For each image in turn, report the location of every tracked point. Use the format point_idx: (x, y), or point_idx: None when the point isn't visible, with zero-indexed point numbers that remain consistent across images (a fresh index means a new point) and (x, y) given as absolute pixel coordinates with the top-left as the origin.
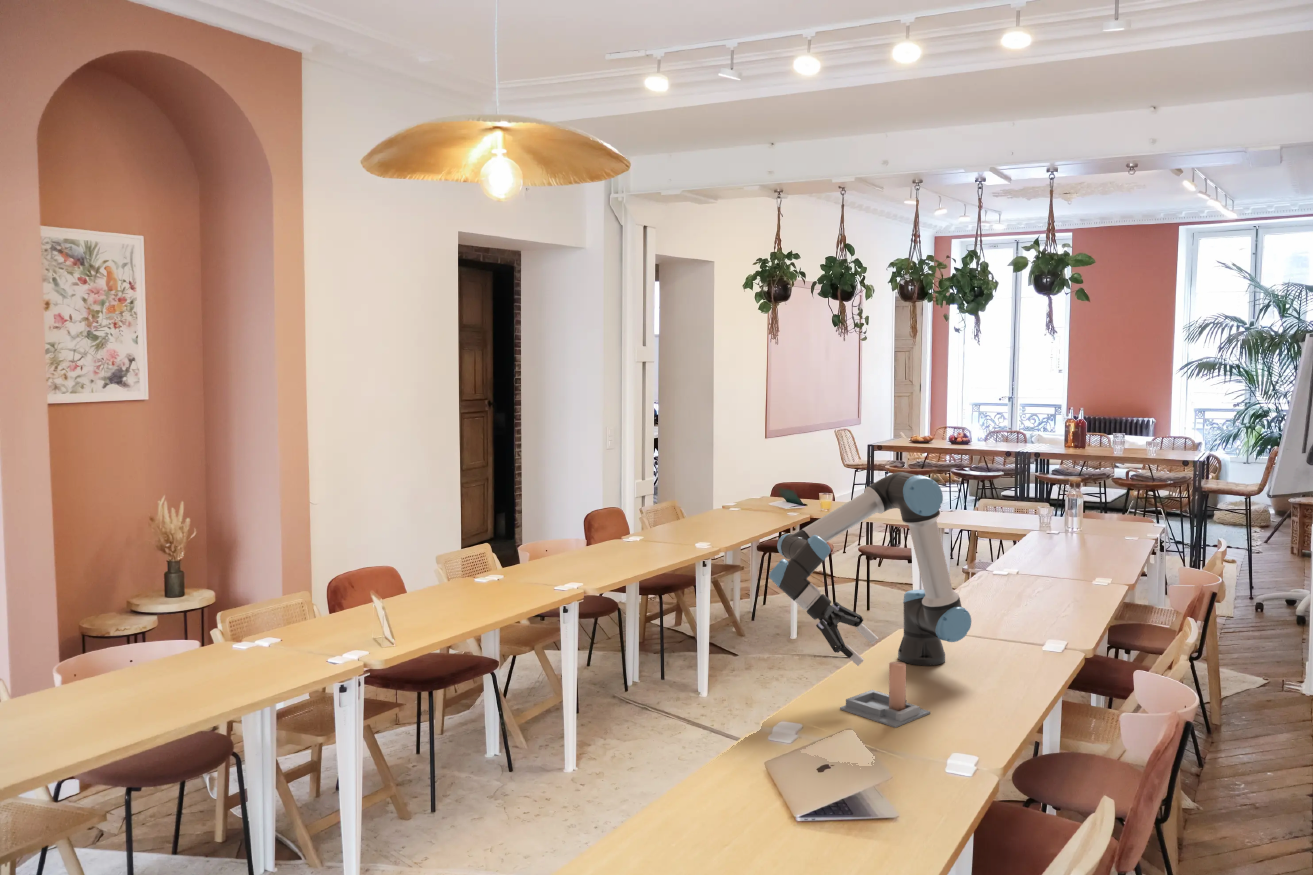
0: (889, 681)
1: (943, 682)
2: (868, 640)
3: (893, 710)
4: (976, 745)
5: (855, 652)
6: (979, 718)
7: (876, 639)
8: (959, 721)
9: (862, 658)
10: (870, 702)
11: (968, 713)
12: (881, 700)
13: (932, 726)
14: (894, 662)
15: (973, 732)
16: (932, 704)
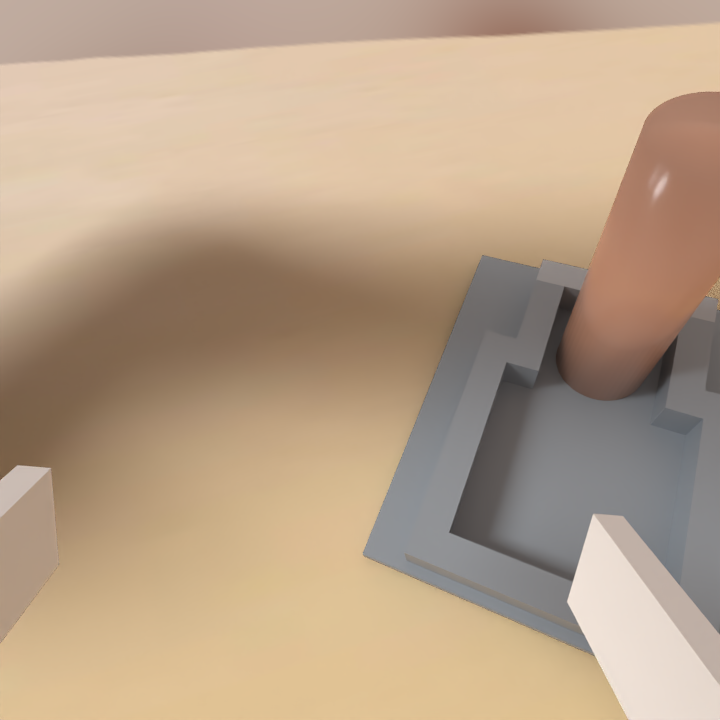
0: (710, 284)
1: (45, 318)
2: (24, 609)
3: (689, 342)
4: (701, 85)
5: (685, 616)
6: (431, 134)
7: (50, 487)
8: (501, 169)
9: (614, 530)
10: (520, 538)
11: (397, 168)
12: (467, 482)
13: None
14: (695, 166)
15: (584, 116)
16: (353, 286)
